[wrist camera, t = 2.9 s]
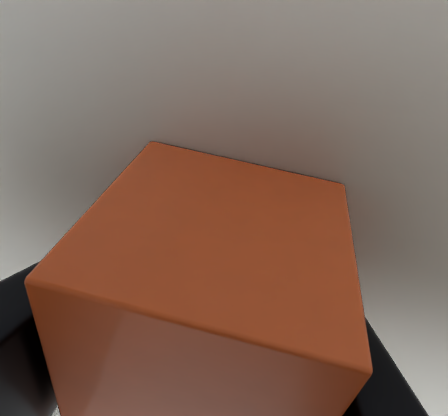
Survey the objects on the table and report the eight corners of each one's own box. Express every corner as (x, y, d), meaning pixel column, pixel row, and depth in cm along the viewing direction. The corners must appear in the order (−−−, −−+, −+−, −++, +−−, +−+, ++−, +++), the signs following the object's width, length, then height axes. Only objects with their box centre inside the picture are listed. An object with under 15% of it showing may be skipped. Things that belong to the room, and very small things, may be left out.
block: (293, 312, 10) (284, 499, 6) (147, 275, 10) (63, 433, 7) (345, 183, 7) (376, 374, 4) (150, 139, 8) (19, 279, 4)
